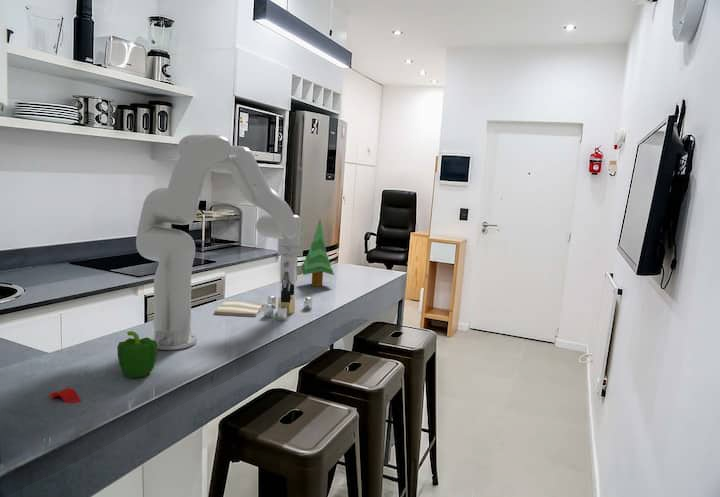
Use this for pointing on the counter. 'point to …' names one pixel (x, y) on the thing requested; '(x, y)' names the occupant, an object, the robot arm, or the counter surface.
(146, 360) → the bell pepper
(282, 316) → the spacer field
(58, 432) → the counter surface
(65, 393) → the red curved piece
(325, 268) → the decorative tree
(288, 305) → the brass nut
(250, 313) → the pad
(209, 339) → the counter surface
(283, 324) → the counter surface
